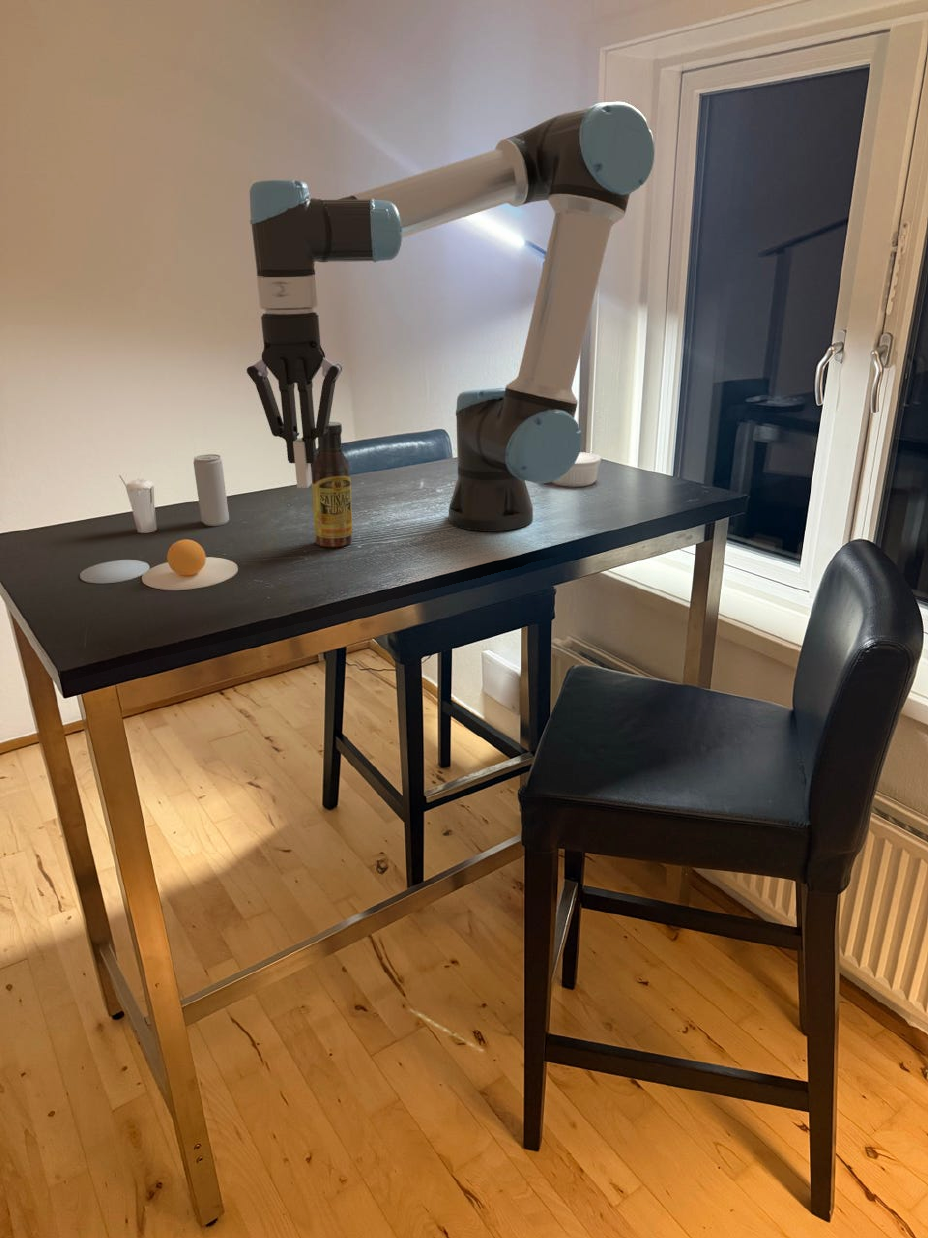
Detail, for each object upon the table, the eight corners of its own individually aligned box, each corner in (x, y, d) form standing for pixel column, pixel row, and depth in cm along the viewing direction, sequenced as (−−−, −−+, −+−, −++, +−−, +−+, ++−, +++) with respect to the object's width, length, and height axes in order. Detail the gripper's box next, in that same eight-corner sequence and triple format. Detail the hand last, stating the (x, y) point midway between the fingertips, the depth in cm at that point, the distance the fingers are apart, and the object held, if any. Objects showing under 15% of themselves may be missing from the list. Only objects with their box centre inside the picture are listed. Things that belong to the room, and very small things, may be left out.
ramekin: (541, 476, 183) (541, 452, 181) (592, 474, 184) (593, 450, 182) (551, 489, 173) (552, 464, 171) (605, 487, 174) (607, 461, 172)
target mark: (254, 562, 134) (254, 560, 134) (206, 593, 122) (206, 592, 122) (176, 555, 138) (176, 554, 138) (122, 585, 125) (122, 584, 125)
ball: (207, 534, 129) (172, 531, 129) (195, 552, 124) (158, 550, 125) (212, 565, 132) (177, 562, 132) (201, 584, 127) (165, 581, 128)
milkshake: (132, 527, 153) (123, 472, 149) (163, 526, 153) (154, 471, 149) (125, 534, 148) (115, 478, 144) (157, 533, 149) (147, 477, 145)
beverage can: (222, 527, 152) (213, 460, 147) (197, 526, 153) (187, 459, 148) (234, 519, 156) (226, 454, 151) (209, 518, 157) (201, 453, 152)
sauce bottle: (322, 551, 139) (311, 428, 131) (311, 541, 144) (299, 422, 136) (360, 545, 141) (352, 424, 133) (347, 535, 146) (339, 418, 139)
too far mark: (162, 563, 134) (162, 562, 134) (123, 586, 125) (122, 584, 125) (108, 559, 137) (107, 557, 137) (65, 580, 128) (65, 579, 128)
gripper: (231, 313, 110) (252, 491, 120) (330, 312, 109) (343, 492, 119) (250, 309, 117) (268, 478, 127) (343, 308, 116) (355, 479, 125)
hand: (304, 485), depth 123 cm, fingers closed
